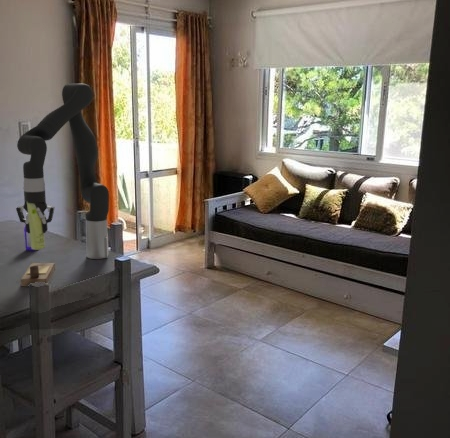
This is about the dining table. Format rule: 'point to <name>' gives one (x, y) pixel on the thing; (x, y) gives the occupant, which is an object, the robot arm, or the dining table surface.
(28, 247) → the bottle
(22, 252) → the dining table surface
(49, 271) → the brown flat panelled slab
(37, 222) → the tube
